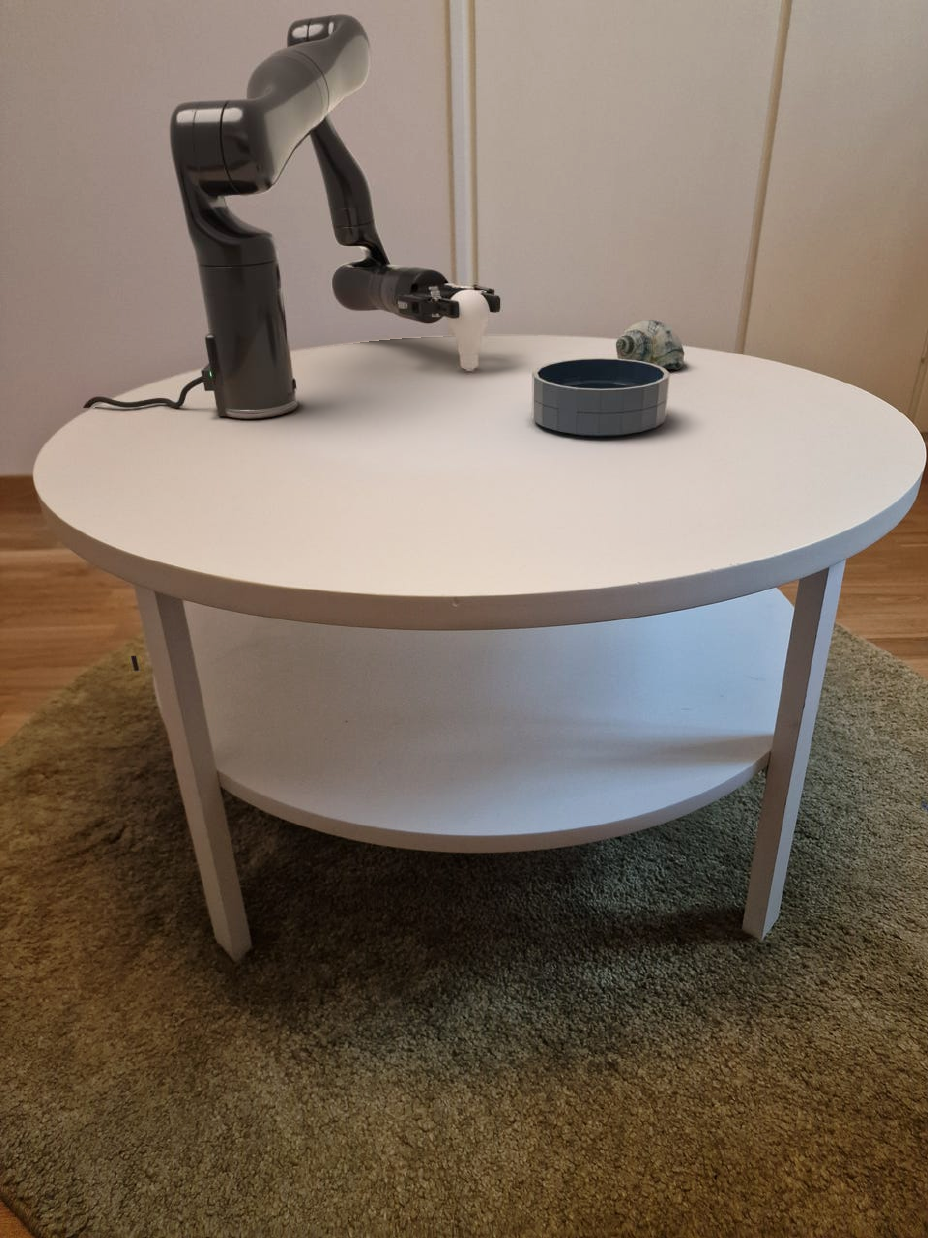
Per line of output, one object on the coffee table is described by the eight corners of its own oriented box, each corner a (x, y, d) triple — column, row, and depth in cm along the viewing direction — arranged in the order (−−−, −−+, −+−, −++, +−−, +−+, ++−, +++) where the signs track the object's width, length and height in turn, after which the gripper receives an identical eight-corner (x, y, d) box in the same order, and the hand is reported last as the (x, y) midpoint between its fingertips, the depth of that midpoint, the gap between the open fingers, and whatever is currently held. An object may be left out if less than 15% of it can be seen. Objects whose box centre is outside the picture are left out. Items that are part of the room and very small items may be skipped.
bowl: (539, 443, 92) (540, 392, 89) (526, 405, 105) (526, 360, 103) (679, 438, 92) (684, 387, 90) (648, 401, 105) (652, 355, 103)
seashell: (691, 380, 120) (609, 385, 118) (674, 347, 125) (595, 352, 123) (704, 341, 115) (619, 346, 113) (686, 309, 120) (604, 313, 118)
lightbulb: (443, 375, 120) (440, 293, 115) (454, 365, 125) (451, 286, 120) (485, 376, 119) (484, 293, 114) (494, 366, 124) (493, 286, 119)
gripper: (370, 271, 123) (432, 283, 111) (453, 262, 130) (520, 272, 118) (374, 325, 127) (434, 342, 114) (455, 313, 134) (520, 329, 121)
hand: (477, 307), depth 116 cm, fingers closed on lightbulb, 6 cm apart
